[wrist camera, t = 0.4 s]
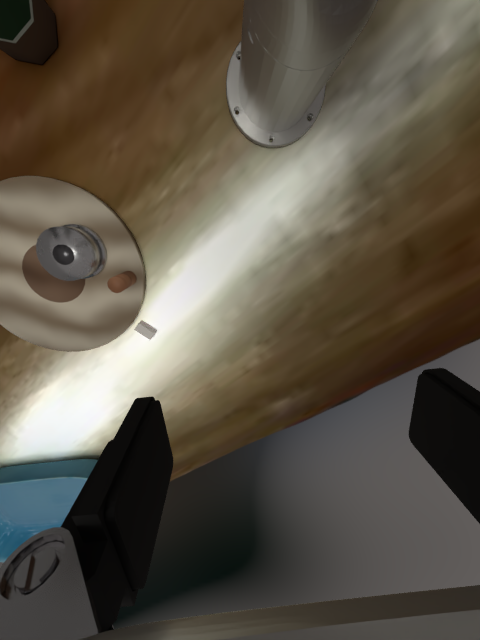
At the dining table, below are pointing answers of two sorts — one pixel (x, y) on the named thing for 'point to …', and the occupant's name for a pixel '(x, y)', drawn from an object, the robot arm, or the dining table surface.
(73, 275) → the cover
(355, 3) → the robot arm
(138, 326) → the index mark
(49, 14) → the beer bottle
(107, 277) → the turntable
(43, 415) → the dining table surface
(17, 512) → the casserole dish
